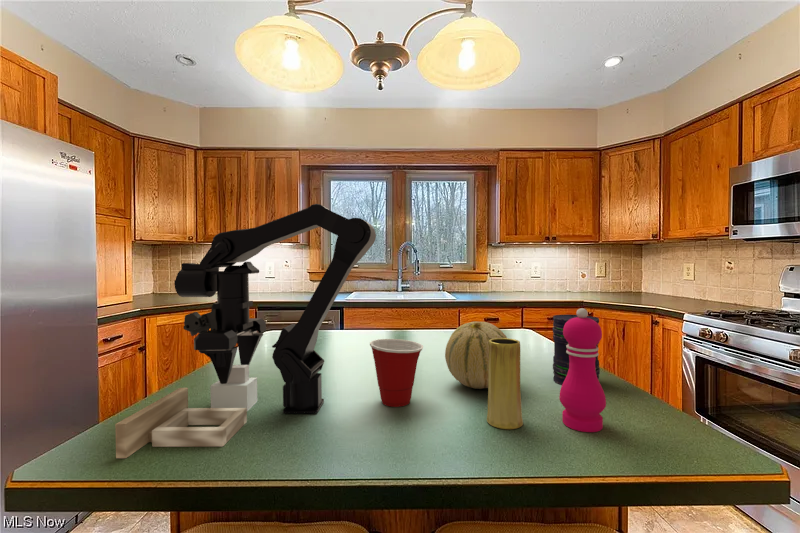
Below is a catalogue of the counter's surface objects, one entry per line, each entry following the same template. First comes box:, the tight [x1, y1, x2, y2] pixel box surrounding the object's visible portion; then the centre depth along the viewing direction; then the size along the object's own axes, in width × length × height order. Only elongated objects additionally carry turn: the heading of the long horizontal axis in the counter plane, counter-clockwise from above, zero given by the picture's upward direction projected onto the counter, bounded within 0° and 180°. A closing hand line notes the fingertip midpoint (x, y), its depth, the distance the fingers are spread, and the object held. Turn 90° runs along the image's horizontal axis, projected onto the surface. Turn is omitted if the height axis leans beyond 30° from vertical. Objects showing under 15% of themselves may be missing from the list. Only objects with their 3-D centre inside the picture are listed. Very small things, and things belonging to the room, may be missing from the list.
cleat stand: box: [114, 387, 248, 459], centre depth 64 cm, size 14×16×5 cm
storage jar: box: [552, 314, 601, 386], centre depth 89 cm, size 10×10×15 cm
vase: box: [486, 337, 524, 430], centre depth 67 cm, size 6×6×14 cm
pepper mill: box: [558, 307, 607, 433], centre depth 66 cm, size 7×7×20 cm
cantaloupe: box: [444, 321, 508, 390], centre depth 86 cm, size 15×15×15 cm
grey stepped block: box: [210, 364, 258, 412], centre depth 76 cm, size 7×5×8 cm
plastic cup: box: [369, 338, 424, 408], centre depth 77 cm, size 11×11×12 cm
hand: (234, 376), depth 76 cm, fingers open, 9 cm apart
